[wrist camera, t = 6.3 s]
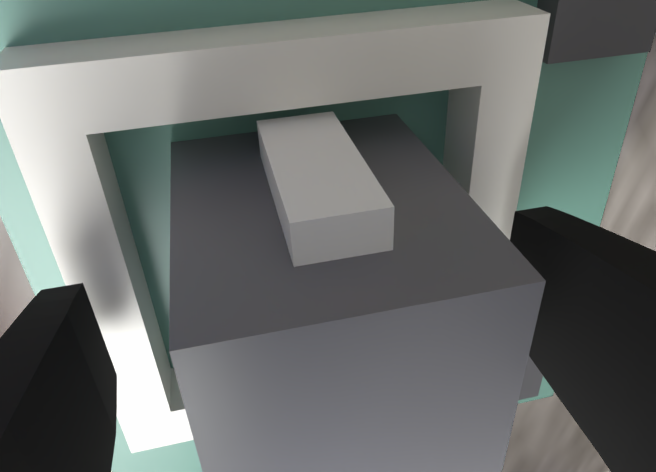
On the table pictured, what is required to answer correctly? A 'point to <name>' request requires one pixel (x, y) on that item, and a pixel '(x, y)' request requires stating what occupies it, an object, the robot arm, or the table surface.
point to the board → (277, 102)
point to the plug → (342, 303)
